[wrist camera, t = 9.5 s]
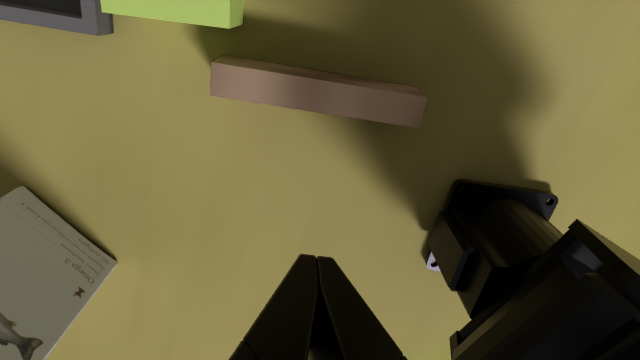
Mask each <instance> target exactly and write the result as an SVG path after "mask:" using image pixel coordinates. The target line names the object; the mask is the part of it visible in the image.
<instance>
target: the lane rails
mask: <svg viewBox="0 0 640 360" xmlns="http://www.w3.org/2000/svg"><path fill="white" fill-rule="evenodd" d="M210 96H216V97H222V98H229V99H235V100H241V101H248V102H254V103H261V104H267V105H273V106H280V107H286V108H292V109H299V110H305V111H312V112H318V113H324V114H331V115H337V116H344V117H350V118H356V119H363V120H369V121H376V122H382V123H388V124H395V125H401V126H408V127H414V128H420V124H421V121H422V117H423V114H424V111H425V107H426V104H427V100H428V97H427V96H425V95H424V94H423V93H422V92H421V91H419V90H418V89H417V88H416V87H414V86H408V85H402V84H396V83H390V82H384V81H378V80H372V79H366V78H360V77H354V76H348V75H342V74H336V73H330V72H324V71H318V70H312V69H306V68H300V67H294V66H288V65H282V64H276V63H270V62H264V61H258V60H252V59H246V58H240V57H234V56H228V55H222V56H220V57H219V58H217V59H215V60H214V61H212V62H211V80H210Z"/></svg>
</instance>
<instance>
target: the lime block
mask: <svg viewBox="0 0 640 360" xmlns="http://www.w3.org/2000/svg"><path fill="white" fill-rule="evenodd" d="M100 1H101V9H102V12H104V13H111V14H119V15H127V16H135V17H142V18H150V19H158V20H166V21H173V22H181V23H189V24H197V25H204V26H212V27H220V28H227V29H230V28H233V27H236V26H239V25H242V24H243V3H244V0H100Z"/></svg>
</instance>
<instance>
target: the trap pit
mask: <svg viewBox="0 0 640 360" xmlns="http://www.w3.org/2000/svg"><path fill="white" fill-rule="evenodd" d="M0 20H6V21H12V22H18V23H24V24H30V25H36V26H42V27H48V28H54V29H60V30H66V31H72V32H78V33H84V34H90V35H96V36H99V35H106V34H112V33H114V30H113V16H112V14H111V13H104V12H102V9H101V1H100V0H0Z"/></svg>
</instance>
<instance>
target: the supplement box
mask: <svg viewBox="0 0 640 360" xmlns="http://www.w3.org/2000/svg"><path fill="white" fill-rule="evenodd" d="M116 266H117V262H116V261H115V260H114V259H112V258H111V257H109V256H108V255H107V254H105V253H104V252H103V251H101V250H100V249H99V248H97V247H96V246H95V245H94V244H92V243H91V242H90V241H88V240H87V239H86V238H85V237H83V236H82V235H81V234H80V233H79V232H77V231H76V230H75V229H74V228H73V227H71V226H70V225H69V224H68V223H67V222H65V221H64V220H63V219H62V218H60V217H59V216H58V215H57V214H56V213H55V212H53V211H52V210H51V209H50V208H49V207H47V206H46V205H45V204H44V203H43V202H42V201H40V200H39V199H38V198H37V197H36V196H35V195H34V194H32V193H31V192H30V191H29V190H28V189H27V188H25V187H24V186H20V187H18V188H16V189H14V190H12V191H11V192H9V193H7V194H6V195H4V196H3V197H1V198H0V360H45V359H46V358H47V356H48V355H49V354H50V352H51V351H52V350H53V348H54V347H55V346H56V344H57V343H58V342H59V340H60V339H61V338H62V336H63V335H64V334H65V332H66V331H67V330H68V328H69V327H70V326H71V324H72V323H73V322H74V321H75V319H76V318H77V317H78V315H79V314H80V313H81V311H82V310H83V309H84V307H85V306H86V305H87V304H88V302H89V301H90V300H91V298H92V297H93V296H94V294H95V293H96V292H97V290H98V289H99V288H100V286H101V285H102V284H103V282H104V281H105V280H106V279H107V277H108V276H109V275H110V273H111V272H112V271H113V270H114V268H115V267H116Z"/></svg>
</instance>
